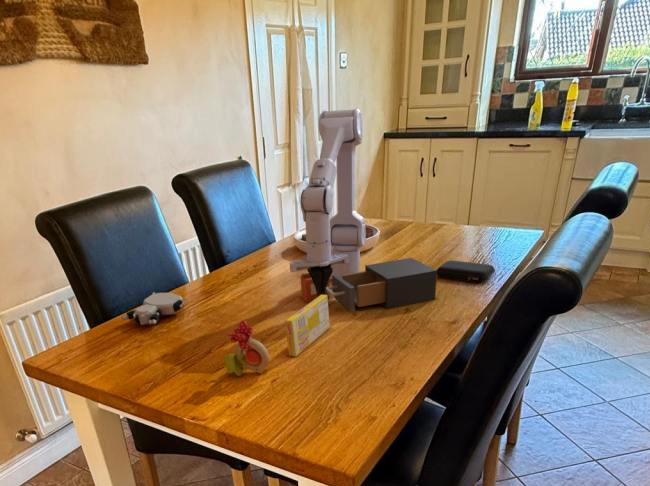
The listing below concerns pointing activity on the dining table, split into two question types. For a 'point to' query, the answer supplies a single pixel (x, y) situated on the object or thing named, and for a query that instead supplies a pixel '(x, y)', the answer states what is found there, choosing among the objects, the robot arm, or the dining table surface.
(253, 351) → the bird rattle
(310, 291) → the ridged terracotta block
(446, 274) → the carrying case
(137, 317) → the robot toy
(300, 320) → the candy box
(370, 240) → the bowl
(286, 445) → the dining table surface
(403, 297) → the cabinet
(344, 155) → the robot arm
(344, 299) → the drawer
